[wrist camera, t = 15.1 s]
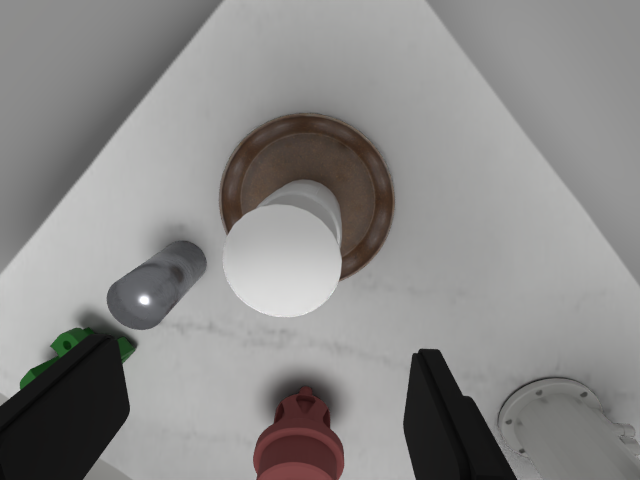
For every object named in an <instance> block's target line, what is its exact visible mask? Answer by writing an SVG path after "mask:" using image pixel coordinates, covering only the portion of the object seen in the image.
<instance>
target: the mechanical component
mask: <svg viewBox="0 0 640 480" xmlns="http://www.w3.org/2000/svg"><path fill="white" fill-rule="evenodd" d="M253 464H254V468H255V471H256V473H257V479H256V480H339V478H340V476H341V475H342V472H343V469H344V451H343V446H342V443H341V441H340V439H339V438H338V436H337V435H336V434H335V433H334V432H333V431H332V430H331V429H330V412H329V409H328V407H327V405H326V404H325V403H324V402H323V401H322V400H320V399H319V398H317V397H315V396H313V395H312V389H311V388H310V387H307V386H304V387H302V388H301V389H300V391H299V394H295V395H291V396H289V397H287V398H285V399H284V400H282V401H281V402H280V404H279V405H278V407H277V409H276V413H275V419H274V424H273V425H271V426H269V427H268V428H267V429H265V430H264V431H263V432H262V434H261V435H260V437H259V438H258V440H257V443H256V447H255V451H254V456H253Z"/></svg>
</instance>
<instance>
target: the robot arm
mask: <svg viewBox="0 0 640 480" xmlns="http://www.w3.org/2000/svg"><path fill="white" fill-rule="evenodd" d="M129 412H130V405H129V399H128V393H127V388H126V382H125V376H124V371H123V365H122V359H121V354H120V348H119V343H118V341H117V340H115V339H114V337H113V336H112V335H109V334H90V335H88V336H87V337H85V338H84V339H83V340H82V341H81V342H79V343H78V344H77V345H76V346H74V347H73V348H72V349H71V350H69V351H68V352H67V353H66V354H64V355H63V356H62V357H61V358H60V359H58V360H57V361H56V362H55V363H53V364H52V365H51V366H50V367H48V368H47V369H46V370H45V371H43V372H42V373H41V374H40V375H38V376H37V377H36V378H35V379H34V380H32V381H31V382H30V383H29V384H27V385H26V386H25V387H24V388H22V389H21V390H20V391H19V392H17V393H16V394H15V395H14V396H13V397H11V398H10V399H9V400H8V401H6V402H5V403H4V404H3V405H1V406H0V480H83V479H84V477H85V476H86V474H87V473H88V472H89V470H90V469H91V468H92V466H93V465H94V463H95V462H96V461H97V459H98V458H99V457H100V455H101V454H102V453H103V451H104V450H105V448H106V447H107V446H108V444H109V443H110V442H111V440H112V439H113V437H114V436H115V435H116V433H117V432H118V431H119V429H120V428H121V426H122V425H123V424H124V422H125V421H126V419H127V417H128V415H129ZM403 426H404V434H405V438H406V442H407V446H408V450H409V454H410V458H411V462H412V466H413V470H414V474H415V478H416V480H517V478H516V476H515V475H514V473H513V471H512V469H511V467H510V465H509V464H508V462H507V460H506V458H505V456H504V454H503V453H502V451H501V449H500V447H499V445H498V444H497V442H496V440H495V438H494V436H493V434H492V433H491V431H490V429H489V427H488V425H487V424H486V422H485V420H484V418H483V416H482V414H481V413H480V411H479V409H478V407H477V405H476V403H475V402H474V400H473V399H472V398H471V397H469V396H463V395H462V393H461V391H460V389H459V387H458V385H457V383H456V381H455V379H454V377H453V375H452V373H451V371H450V369H449V368H448V366H447V364H446V362H445V360H444V358H443V356H442V354H441V352H440V351H439V350H438V349H419V351H418V353H414V354H413V355H412V362H411V369H410V376H409V384H408V391H407V399H406V406H405V413H404V421H403ZM498 426H499V431H500V433H501V436H502V438H503V439H504V441H505V442H506V444H507V446H508V447H509V448H511V449H512V450H513V451H514V452H516V453H517V454H519V455H521V456H524V457H527V458H529V459H530V460H531V462H532V463H533V465H534V467H535V468H536V470H537V471H538V473H539V474H540V476H541V478H542V479H543V480H640V460H639V459H638V458H637V457H636V456H635V455H640V446H639V444H638V442H637V441H636V440H635V439H633V438H630V437H619V436H631V437H634V436H635V429H634V428H633V426H632V425H630V424H613V423H612V422H610V421H609V420H608V419H607V418H606V417H605V416H604V415H603V409H602V406H601V403H600V401H599V400H598V398H597V397H596V396H595V395H594V394H593V393H592V392H591V391H590V390H589V389H588V388H587V387H585V386H584V385H582V384H581V383H578V382H576V381H573V380H569V379H560V378H553V379H544V380H540V381H537V382H534V383H531V384H529V385H526V386H525V387H523V388H521V389H520V390H518V391H517V392H516V393H514V394H513V395H512V396H511V397H510V398H509V399H508V400H507V402H506V403H505V404H504V406H503V408H502V410H501V412H500V415H499V421H498Z"/></svg>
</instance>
